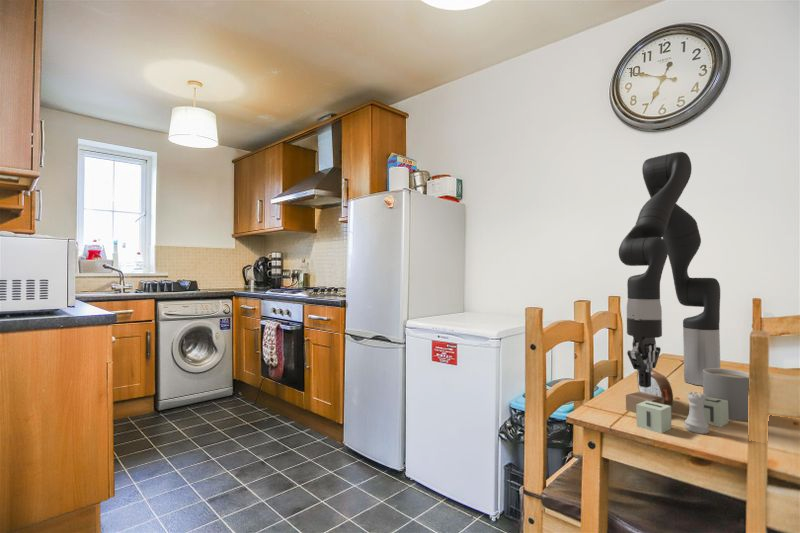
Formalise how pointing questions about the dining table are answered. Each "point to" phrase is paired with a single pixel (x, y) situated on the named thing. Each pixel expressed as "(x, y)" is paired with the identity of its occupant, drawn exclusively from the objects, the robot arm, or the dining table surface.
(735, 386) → the coffee mug
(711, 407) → the numbered block seven
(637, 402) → the walnut block
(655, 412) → the numbered block one
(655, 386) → the tin
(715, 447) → the dining table surface
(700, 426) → the rook chess piece
